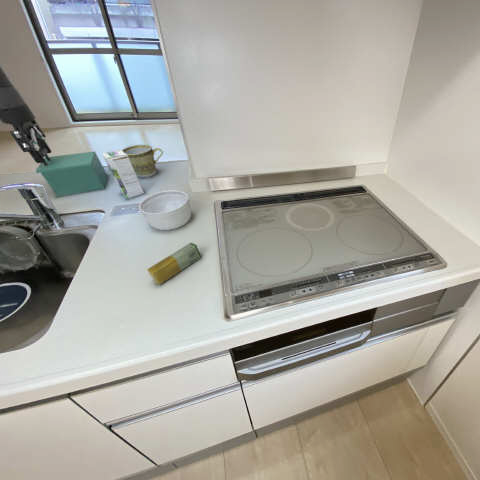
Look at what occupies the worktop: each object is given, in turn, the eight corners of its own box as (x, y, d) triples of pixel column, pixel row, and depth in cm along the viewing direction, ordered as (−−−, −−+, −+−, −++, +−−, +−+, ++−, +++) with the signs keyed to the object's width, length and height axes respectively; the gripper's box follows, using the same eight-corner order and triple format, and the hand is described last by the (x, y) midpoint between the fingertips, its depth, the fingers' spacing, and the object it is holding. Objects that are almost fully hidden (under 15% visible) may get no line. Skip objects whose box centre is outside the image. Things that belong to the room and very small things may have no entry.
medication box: (195, 253, 70) (190, 241, 67) (202, 256, 68) (197, 244, 66) (152, 281, 61) (145, 269, 59) (159, 285, 60) (152, 273, 58)
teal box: (57, 196, 89) (40, 172, 83) (64, 182, 96) (49, 159, 91) (104, 188, 94) (91, 165, 88) (107, 175, 102) (95, 153, 96)
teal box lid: (37, 173, 83) (25, 157, 79) (46, 159, 90) (36, 144, 87) (91, 165, 88) (83, 150, 85) (95, 153, 96) (88, 139, 92)
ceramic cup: (131, 181, 99) (119, 155, 92) (133, 170, 105) (122, 146, 99) (169, 175, 103) (160, 151, 97) (169, 165, 110) (160, 142, 103)
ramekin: (145, 237, 74) (135, 217, 69) (150, 212, 83) (141, 193, 79) (195, 228, 78) (188, 208, 73) (194, 205, 87) (188, 187, 83)
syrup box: (121, 193, 92) (100, 153, 82) (139, 187, 95) (120, 148, 86) (127, 199, 89) (106, 158, 80) (145, 193, 92) (127, 153, 83)
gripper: (0, 99, 79) (36, 151, 89) (-20, 111, 69) (23, 168, 80) (32, 97, 81) (63, 148, 92) (17, 108, 72) (54, 164, 82)
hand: (44, 157), depth 86 cm, fingers open, 8 cm apart
